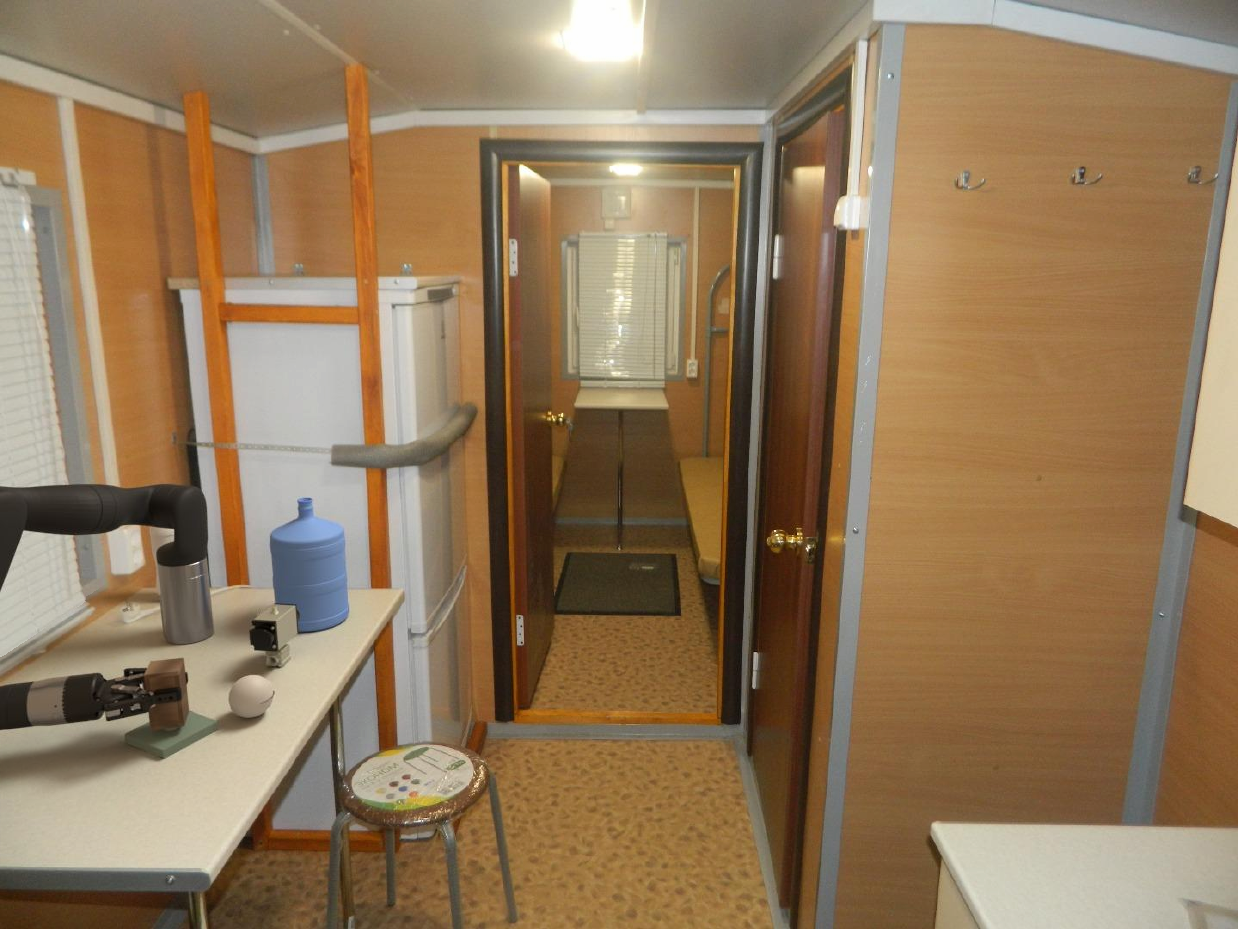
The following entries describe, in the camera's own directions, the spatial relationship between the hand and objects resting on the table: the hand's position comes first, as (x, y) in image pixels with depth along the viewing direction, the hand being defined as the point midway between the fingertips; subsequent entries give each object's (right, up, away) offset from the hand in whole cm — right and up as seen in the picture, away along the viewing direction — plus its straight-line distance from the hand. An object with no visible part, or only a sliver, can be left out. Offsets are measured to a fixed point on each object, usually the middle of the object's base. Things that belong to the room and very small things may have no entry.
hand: (184, 685), depth 138 cm
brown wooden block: (-3, -6, +1) cm, 7 cm away
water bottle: (-33, +5, +59) cm, 68 cm away
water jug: (+4, +2, +48) cm, 48 cm away
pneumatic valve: (+4, -3, +27) cm, 28 cm away
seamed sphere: (+8, -7, +9) cm, 15 cm away
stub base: (-3, -9, +1) cm, 9 cm away
